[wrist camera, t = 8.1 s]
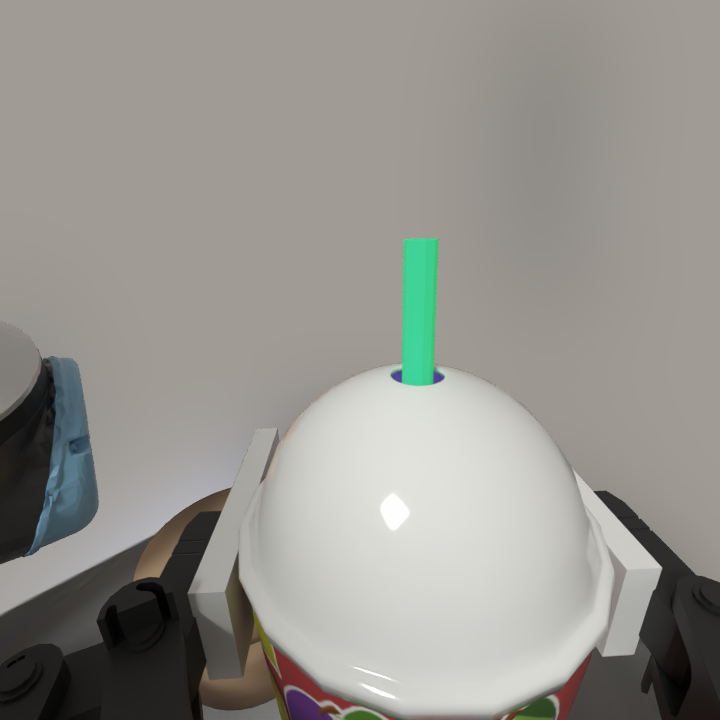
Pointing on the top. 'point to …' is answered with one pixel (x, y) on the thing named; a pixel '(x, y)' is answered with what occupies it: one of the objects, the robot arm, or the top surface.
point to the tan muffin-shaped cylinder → (256, 675)
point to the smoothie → (423, 547)
